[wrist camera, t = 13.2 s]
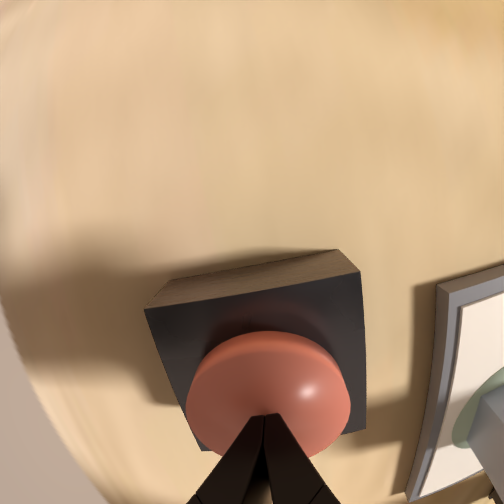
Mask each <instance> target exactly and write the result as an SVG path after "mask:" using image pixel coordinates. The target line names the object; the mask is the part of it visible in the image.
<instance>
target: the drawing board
mask: <svg viewBox="0 0 504 504" xmlns="http://www.w3.org/2000/svg"><path fill="white" fill-rule="evenodd" d="M502 385H504V264H503V265H500V266H497V267H494V268H490V269H487V270H484V271H481V272H478V273H474V274H471V275H468V276H464V277H461V278H457V279H454V280H450V281H447V282H443V283H440V284H436V319H435V336H434V348H433V359H432V368H431V376H430V383H429V390H428V397H427V403H426V409H425V414H424V419H423V424H422V429H421V434H420V438H419V443H418V447H417V451H416V455H415V459H414V463H413V467H412V470H411V474H410V477H409V480H408V484H407V487H406V490H405V494H406V497H407V500H408V502H409V503H410V502H413V501H415V500H418V499H421V498H423V497H426V496H429V495H431V494H434V493H436V492H438V491H441V490H443V489H445V488H448V487H450V486H452V485H454V484H457V483H459V482H461V481H463V480H465V479H467V478H469V477H471V476H473V475H475V474H477V473H479V472H481V471H482V470H484V469H483V467H482V466H481V464H480V462H479V461H478V459H477V457H476V456H475V454H474V452H473V451H472V449H471V448H470V446H469V444H468V443H467V441H466V439H467V437H468V434H469V431H470V428H471V426H472V423H473V420H474V417H475V414H476V411H477V407H478V404H479V401H480V398H481V396H482V395H484V394H486V393H488V392H490V391H492V390H494V389H496V388H498V387H500V386H502Z"/></svg>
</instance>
